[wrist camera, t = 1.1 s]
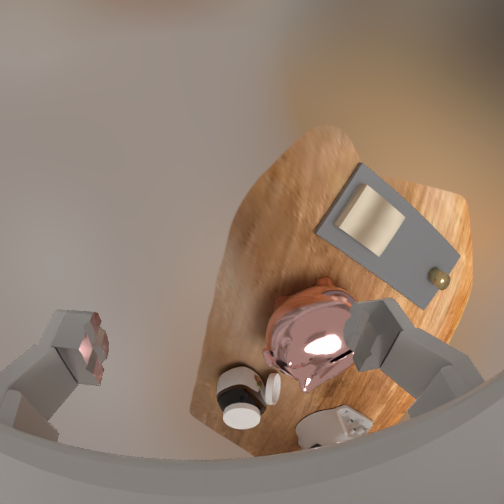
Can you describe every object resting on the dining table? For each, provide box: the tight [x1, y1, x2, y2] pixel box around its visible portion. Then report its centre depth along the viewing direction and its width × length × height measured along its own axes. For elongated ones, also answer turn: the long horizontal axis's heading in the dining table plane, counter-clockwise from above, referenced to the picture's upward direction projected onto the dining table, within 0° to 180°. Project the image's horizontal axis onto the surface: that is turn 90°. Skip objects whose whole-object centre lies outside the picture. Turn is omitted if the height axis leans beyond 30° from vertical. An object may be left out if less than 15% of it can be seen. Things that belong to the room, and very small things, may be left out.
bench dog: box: [427, 267, 450, 290], centre depth 46 cm, size 3×3×4 cm
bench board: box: [314, 163, 460, 310], centre depth 47 cm, size 30×14×2 cm, turn 58°
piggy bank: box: [262, 277, 359, 393], centre depth 44 cm, size 15×18×16 cm
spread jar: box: [217, 366, 281, 429], centre depth 50 cm, size 12×11×12 cm
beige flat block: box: [334, 183, 406, 257], centre depth 43 cm, size 9×8×3 cm
